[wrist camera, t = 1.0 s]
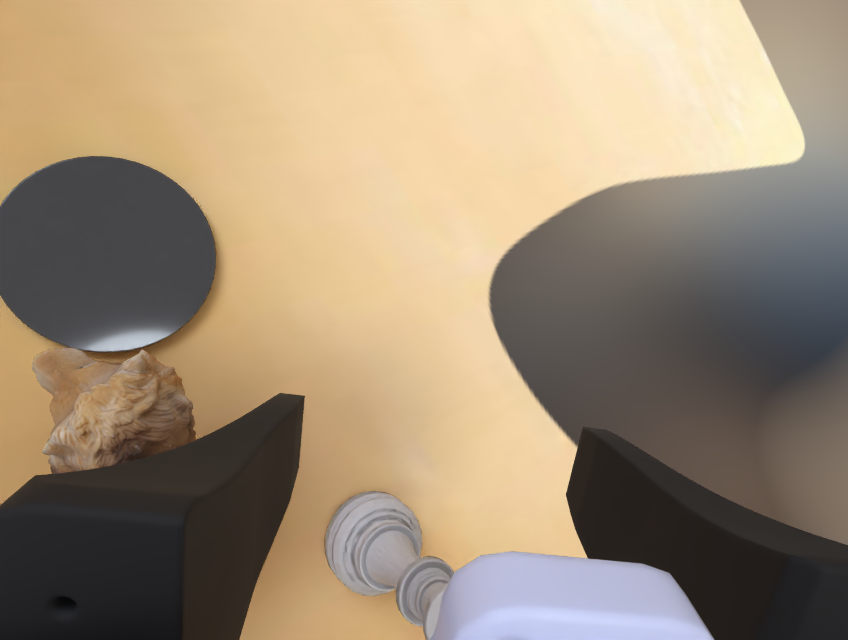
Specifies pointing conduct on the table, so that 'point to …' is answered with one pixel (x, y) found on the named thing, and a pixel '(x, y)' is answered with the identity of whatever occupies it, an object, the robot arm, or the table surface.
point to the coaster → (104, 254)
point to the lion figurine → (111, 409)
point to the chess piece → (386, 556)
